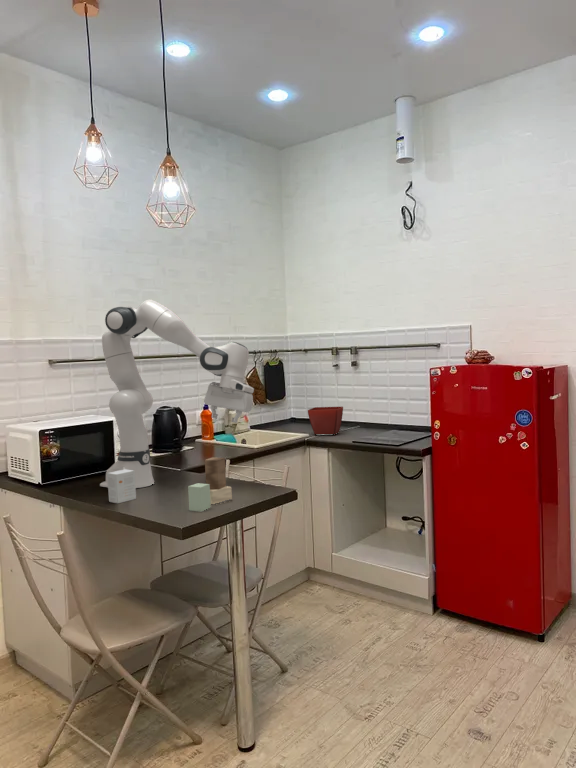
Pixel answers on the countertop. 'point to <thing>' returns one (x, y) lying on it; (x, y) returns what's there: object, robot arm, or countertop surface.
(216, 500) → the beech block
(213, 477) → the walnut block
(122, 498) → the small box
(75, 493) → the countertop surface
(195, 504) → the sage green block
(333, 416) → the plant pot
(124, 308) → the robot arm
